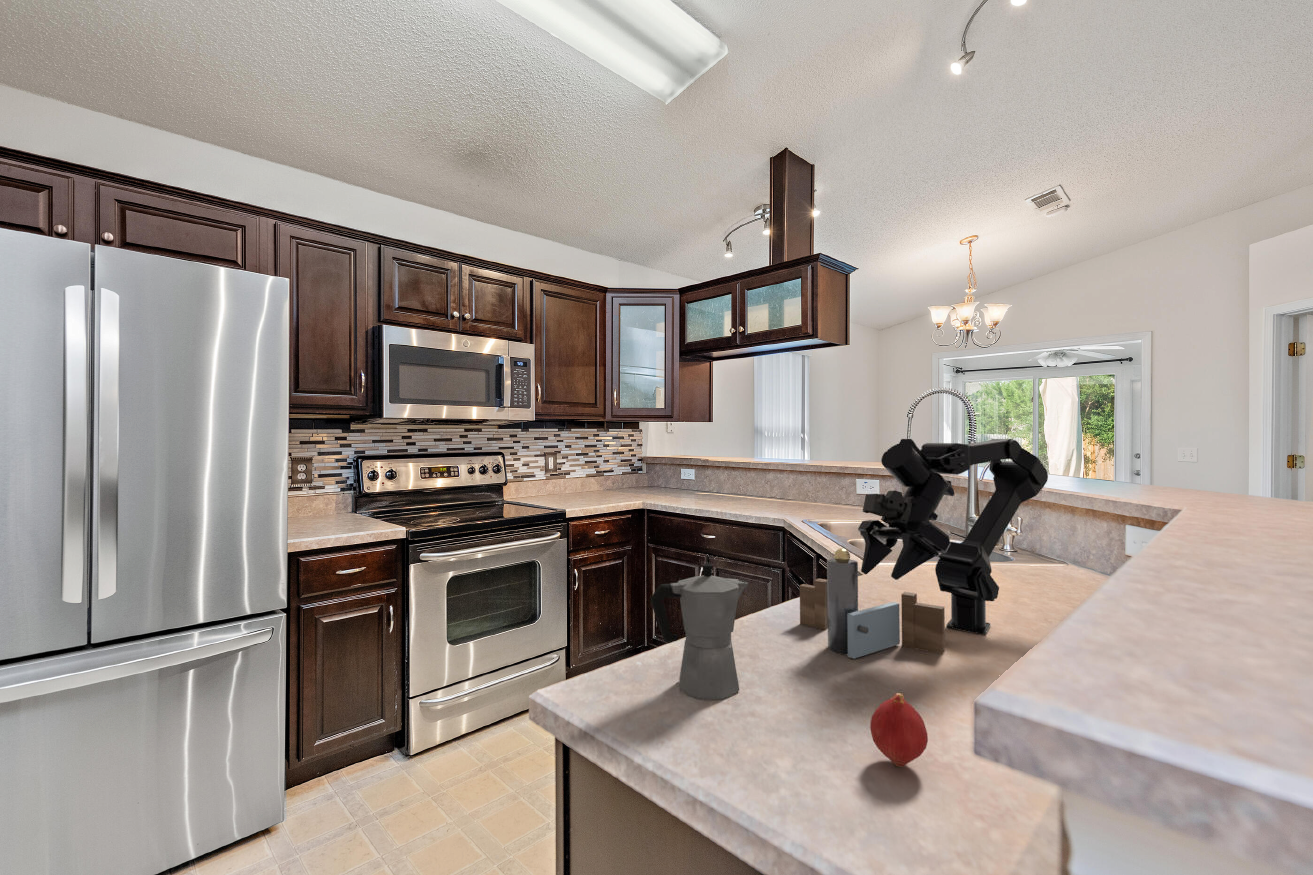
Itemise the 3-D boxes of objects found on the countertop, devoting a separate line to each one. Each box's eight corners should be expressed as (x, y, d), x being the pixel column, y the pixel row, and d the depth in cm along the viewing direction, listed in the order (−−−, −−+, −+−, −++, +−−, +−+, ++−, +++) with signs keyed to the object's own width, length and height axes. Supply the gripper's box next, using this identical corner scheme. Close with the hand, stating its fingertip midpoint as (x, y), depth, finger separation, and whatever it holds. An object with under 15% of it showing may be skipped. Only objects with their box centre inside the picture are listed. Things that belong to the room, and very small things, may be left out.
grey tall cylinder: (834, 641, 100) (833, 544, 100) (862, 647, 97) (861, 547, 97) (823, 650, 96) (822, 549, 96) (852, 656, 93) (851, 552, 93)
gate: (893, 641, 99) (893, 601, 99) (907, 646, 97) (906, 605, 97) (847, 656, 92) (847, 613, 92) (861, 661, 90) (860, 617, 90)
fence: (803, 621, 111) (803, 576, 111) (945, 650, 95) (944, 597, 95) (799, 624, 109) (799, 578, 109) (942, 654, 94) (942, 600, 94)
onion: (861, 751, 65) (861, 682, 65) (909, 748, 65) (909, 680, 65) (886, 782, 59) (885, 706, 59) (938, 778, 60) (938, 703, 60)
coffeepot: (733, 667, 89) (732, 553, 89) (765, 692, 80) (763, 566, 80) (641, 682, 84) (640, 561, 84) (663, 711, 75) (662, 576, 75)
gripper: (857, 478, 109) (816, 545, 106) (918, 471, 91) (871, 551, 88) (901, 512, 110) (862, 579, 107) (970, 511, 92) (926, 592, 89)
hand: (877, 575), depth 97 cm, fingers open, 9 cm apart
